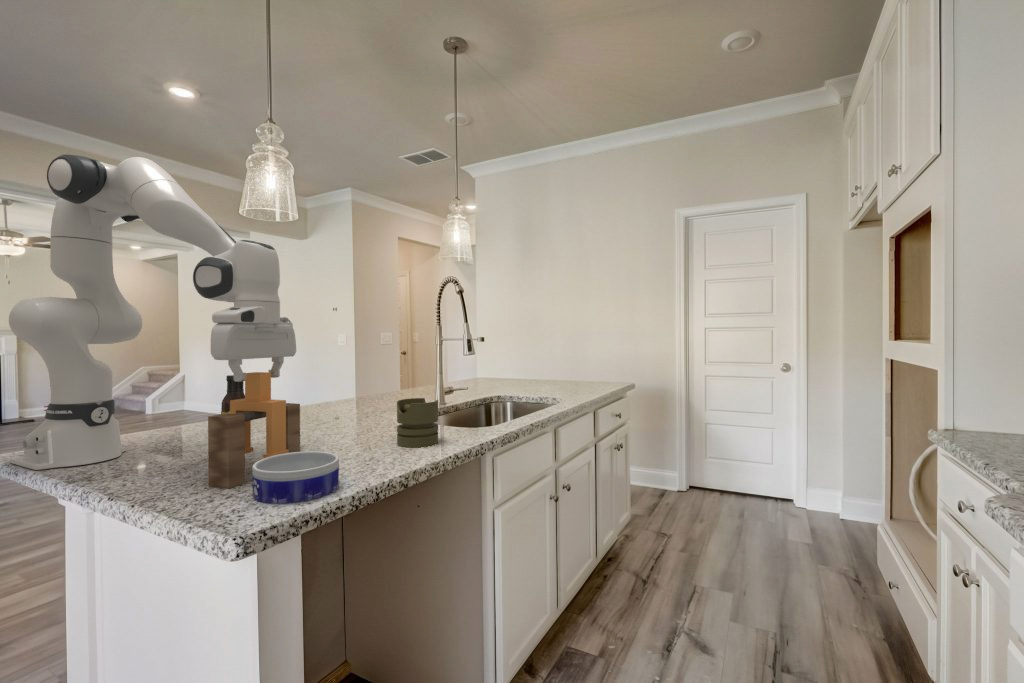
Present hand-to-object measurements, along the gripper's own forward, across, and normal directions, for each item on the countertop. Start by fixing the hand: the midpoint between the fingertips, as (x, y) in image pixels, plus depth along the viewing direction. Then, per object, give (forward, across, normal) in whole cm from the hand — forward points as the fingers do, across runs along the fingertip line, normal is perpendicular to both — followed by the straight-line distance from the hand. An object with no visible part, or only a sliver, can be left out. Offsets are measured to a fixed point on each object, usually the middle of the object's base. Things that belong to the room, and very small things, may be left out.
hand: (257, 379), depth 102 cm
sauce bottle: (+21, -15, -22) cm, 34 cm away
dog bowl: (+21, +7, +16) cm, 27 cm away
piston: (+21, -36, +20) cm, 46 cm away
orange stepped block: (+17, 0, 0) cm, 17 cm away
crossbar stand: (+21, 0, 0) cm, 21 cm away
